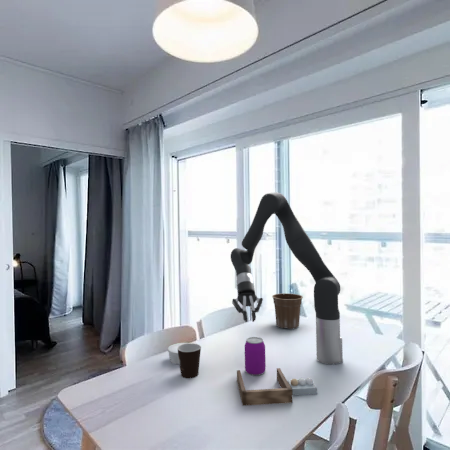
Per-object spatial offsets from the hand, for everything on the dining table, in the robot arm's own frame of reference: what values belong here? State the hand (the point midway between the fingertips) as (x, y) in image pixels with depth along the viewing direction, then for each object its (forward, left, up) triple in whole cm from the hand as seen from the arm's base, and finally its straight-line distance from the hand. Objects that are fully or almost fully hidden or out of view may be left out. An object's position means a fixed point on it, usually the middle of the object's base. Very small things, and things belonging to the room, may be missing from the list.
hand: (250, 320), depth 132 cm
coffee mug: (+24, +9, -16) cm, 30 cm away
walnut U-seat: (0, +25, -16) cm, 30 cm away
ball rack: (-13, +26, -16) cm, 33 cm away
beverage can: (0, +11, -16) cm, 20 cm away
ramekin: (+28, -3, -16) cm, 33 cm away
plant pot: (-27, -42, -16) cm, 53 cm away
